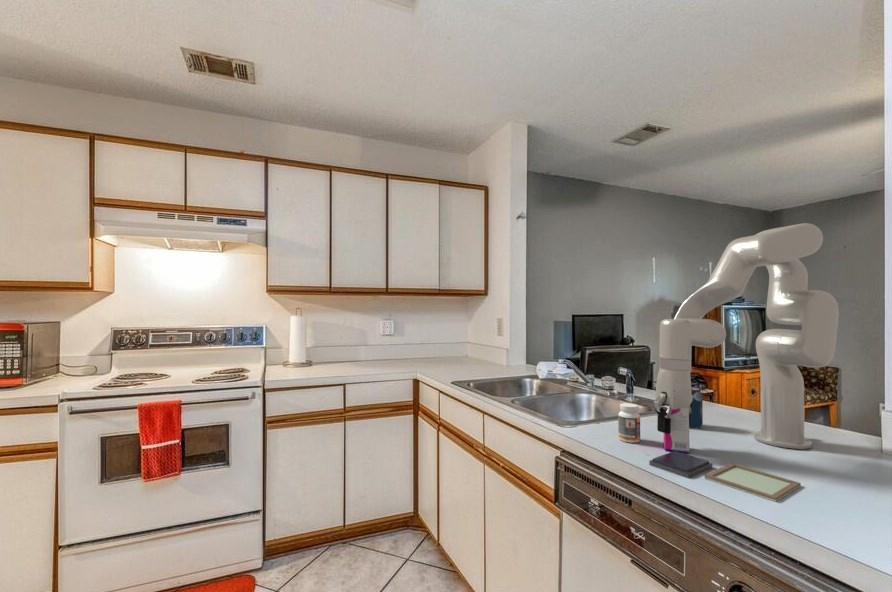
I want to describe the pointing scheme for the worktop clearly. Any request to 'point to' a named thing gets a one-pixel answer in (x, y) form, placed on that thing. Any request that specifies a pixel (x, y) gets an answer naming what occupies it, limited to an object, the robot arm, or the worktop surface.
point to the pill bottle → (629, 423)
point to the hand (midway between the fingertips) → (674, 429)
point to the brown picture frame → (753, 481)
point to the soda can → (696, 409)
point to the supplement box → (678, 431)
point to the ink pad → (681, 464)
